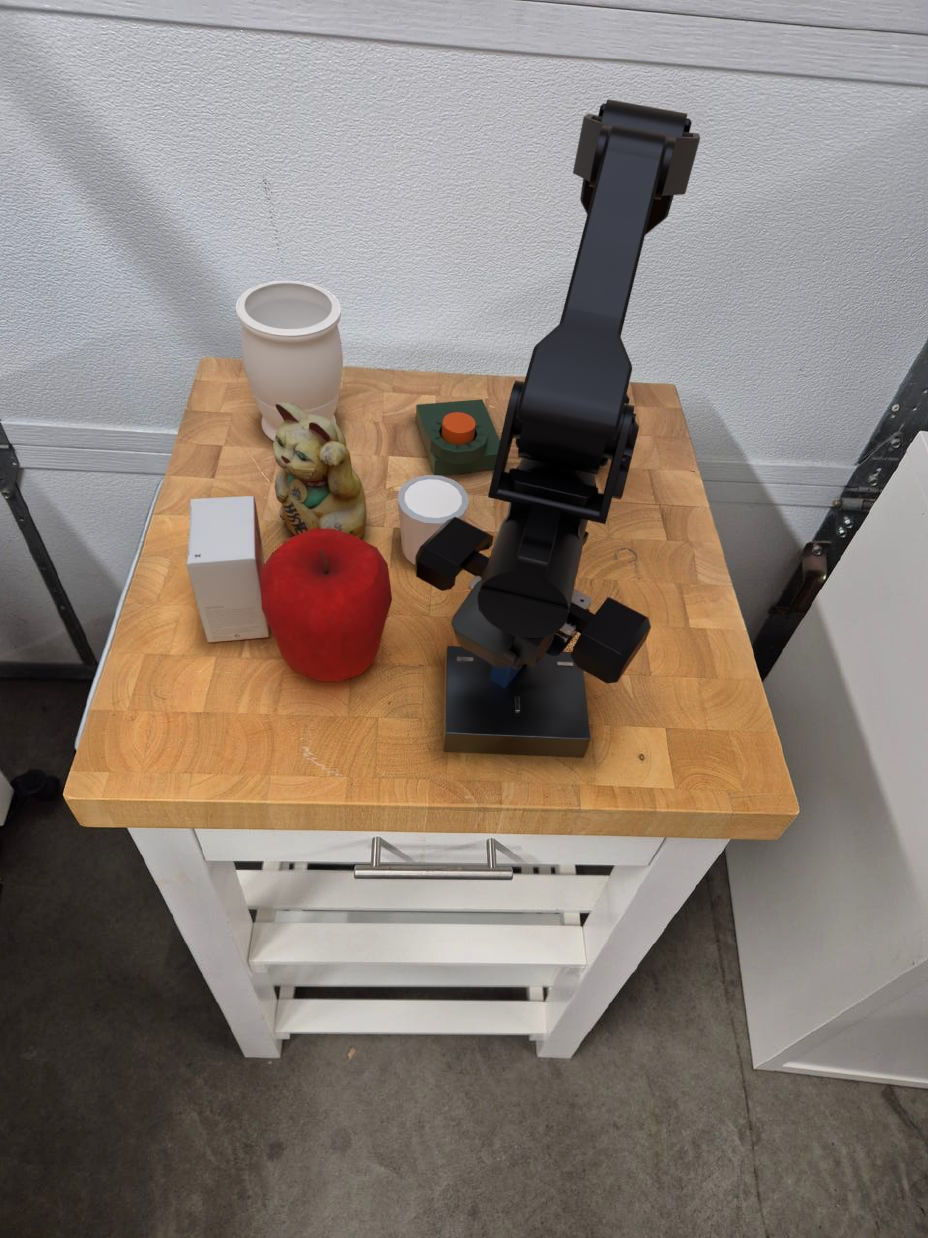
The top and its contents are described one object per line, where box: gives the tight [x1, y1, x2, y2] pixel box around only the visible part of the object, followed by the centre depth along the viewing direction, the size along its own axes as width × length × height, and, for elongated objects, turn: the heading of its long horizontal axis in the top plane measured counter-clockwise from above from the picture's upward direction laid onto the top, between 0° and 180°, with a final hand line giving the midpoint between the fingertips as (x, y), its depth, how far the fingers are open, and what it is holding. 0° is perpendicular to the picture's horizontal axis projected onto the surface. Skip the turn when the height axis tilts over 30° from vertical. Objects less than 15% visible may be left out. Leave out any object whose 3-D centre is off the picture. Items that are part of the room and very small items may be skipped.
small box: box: [185, 495, 270, 643], centre depth 72 cm, size 8×6×10 cm
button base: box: [415, 398, 500, 476], centre depth 92 cm, size 11×8×4 cm
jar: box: [235, 280, 344, 442], centre depth 88 cm, size 11×10×15 cm
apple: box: [260, 528, 393, 682], centre depth 68 cm, size 10×10×14 cm
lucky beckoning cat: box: [272, 402, 367, 539], centre depth 78 cm, size 10×8×15 cm
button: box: [442, 412, 476, 445], centre depth 89 cm, size 4×4×2 cm
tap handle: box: [490, 665, 522, 689], centre depth 69 cm, size 6×2×5 cm, turn 146°
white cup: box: [397, 474, 469, 566], centre depth 80 cm, size 7×7×7 cm
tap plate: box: [442, 645, 592, 758], centre depth 72 cm, size 12×13×3 cm
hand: (516, 658), depth 71 cm, fingers closed on tap handle, 2 cm apart
